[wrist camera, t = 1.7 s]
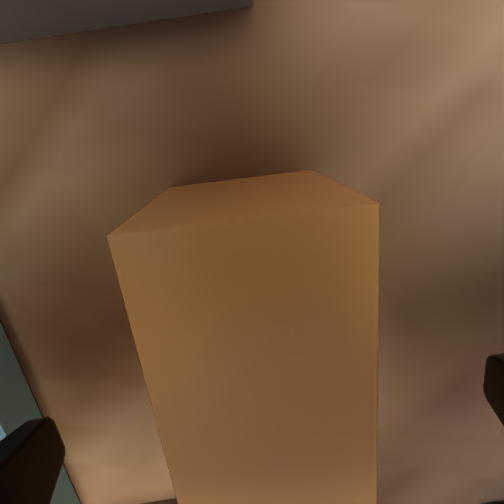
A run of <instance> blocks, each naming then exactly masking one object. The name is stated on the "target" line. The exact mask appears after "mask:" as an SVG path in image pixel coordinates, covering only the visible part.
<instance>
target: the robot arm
mask: <svg viewBox="0 0 504 504" xmlns="http://www.w3.org/2000/svg"><path fill="white" fill-rule="evenodd" d="M483 390H484V394H485V397H486V399H487V401H488V402H489V404H490V406H491V407H492V409H493V410H494V412H495V413H496V415H497V416H498V418H499V420H500V421H501V423H502V424H503V426H504V353H500V354H493V355H490V356H488V358H487V359H486V365H485V375H484V384H483ZM64 457H65V446H64V443H63V441H62V438H61V436H60V434H59V431H58V429H57V427H56V424H55V422H54V420H53V419H51V418H50V417H43V418H36V419H31V420H28V421H26V422H25V423H24V424H22V425H21V426H19V427H18V428H17V429H15V430H14V431H13V432H11V433H10V434H9V435H7V436H6V437H5V438H3V439H2V440H0V504H50V503H51V500H52V496H53V493H54V490H55V487H56V484H57V480H58V477H59V474H60V471H61V468H62V465H63V461H64Z"/></svg>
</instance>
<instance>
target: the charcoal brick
mask: <svg viewBox="0 0 504 504" xmlns="http://www.w3.org/2000/svg"><path fill="white" fill-rule="evenodd" d="M253 1H254V0H0V44H5V43H11V42H18V41H25V40H31V39H38V38H45V37H51V36H58V35H64V34H71V33H78V32H84V31H91V30H98V29H104V28H111V27H117V26H124V25H131V24H137V23H144V22H151V21H157V20H164V19H171V18H177V17H184V16H190V15H197V14H204V13H210V12H217V11H224V10H230V9H237V8H243V7H250V6H253Z"/></svg>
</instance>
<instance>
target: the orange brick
mask: <svg viewBox="0 0 504 504" xmlns="http://www.w3.org/2000/svg"><path fill="white" fill-rule="evenodd" d="M379 206H380V203H379V202H377V201H374V200H372V199H370V198H368V197H366V196H364V195H362V194H360V193H358V192H356V191H354V190H352V189H350V188H348V187H346V186H344V185H342V184H340V183H338V182H335V181H333V180H331V179H329V178H327V177H325V176H323V175H321V174H319V173H317V172H315V171H313V170H306V171H298V172H290V173H281V174H273V175H265V176H257V177H248V178H240V179H232V180H224V181H215V182H207V183H199V184H191V185H182V186H174V187H169V188H168V189H167V190H165V191H164V192H163V193H161V194H160V195H159V196H158V197H156V198H155V199H154V200H152V201H151V202H150V203H149V204H147V205H146V206H145V207H143V208H142V209H141V210H139V211H138V212H137V213H136V214H134V215H133V216H132V217H130V218H129V219H128V220H127V221H125V222H124V223H123V224H121V225H120V226H119V227H118V228H116V229H115V230H114V231H112V232H111V233H110V234H108V235H107V239H108V243H109V247H110V251H111V254H112V258H113V262H114V266H115V269H116V273H117V277H118V281H119V284H120V288H121V292H122V296H123V299H124V303H125V307H126V311H127V314H128V318H129V322H130V326H131V330H132V333H133V337H134V341H135V345H136V348H137V352H138V356H139V360H140V363H141V367H142V371H143V375H144V378H145V382H146V386H147V390H148V393H149V397H150V401H151V405H152V408H153V412H154V416H155V420H156V423H157V427H158V431H159V435H160V438H161V442H162V446H163V450H164V453H165V457H166V461H167V465H168V468H169V472H170V476H171V480H172V483H173V487H174V491H175V495H176V498H177V502H178V504H377V417H378V311H379Z"/></svg>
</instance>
